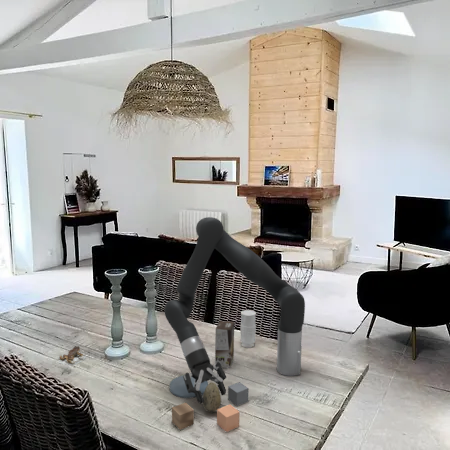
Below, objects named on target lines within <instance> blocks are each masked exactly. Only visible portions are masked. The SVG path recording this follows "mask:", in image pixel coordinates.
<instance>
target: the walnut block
mask: <svg viewBox="0 0 450 450" xmlns="http://www.w3.org/2000/svg"><path fill="white" fill-rule="evenodd" d="M194 411H195V410H194V408H192V407H191V406H190V405H189V404H188V403H187V402H183V403H181V404H178V405H175V406H172V407H171V423H172V424H173V425H174V424H175V425H176V426H177V427H178V428H179V429H180V430H179V429H178V428H177V427H176V426H175V425H174V426H175V427H176V428H177V429H178V430H179V431H181V429H182V430H184V429H186V428H188V426H189V427H191V426H193V424H194V425H195V412H194Z"/></svg>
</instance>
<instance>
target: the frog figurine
mask: <svg viewBox="0 0 450 450" xmlns="http://www.w3.org/2000/svg"><path fill="white" fill-rule="evenodd" d="M80 350H81V347H80V346H77V345H75V346H74V347H73V348H72V349H70V350H68V354H63V355H59V358H60V359H58V360H57V362H58V364H60V365H67V366H68V365H69V366H74V365H77V364H79V363H81V362H82V361H84V360H86V355H85V356H84V354H83V353H81V352H79V351H80ZM81 357H82V358H83V360H80V359H79V358H81Z"/></svg>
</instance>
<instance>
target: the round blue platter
mask: <svg viewBox="0 0 450 450" xmlns="http://www.w3.org/2000/svg"><path fill="white" fill-rule="evenodd" d="M184 375H185V374H184ZM184 375H180V376H177V377H174V378H172V380H171V381H170V382H169V392H170V393H171V394H172V395H173V396H175V397H178V398H181V399H192V398H196V396H195V394H194V393H188V391H187V388H186V385H185V382H184V378H183V376H184ZM191 381H192V384H193V387H194V383H195V379H194V378H193V377H192V376H191ZM208 384H209V381H204V382H203V383H201V384H200V388H199V391H201V393H202V396H203V395H204V391H205V389H206V387H207V385H208Z"/></svg>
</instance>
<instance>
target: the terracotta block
mask: <svg viewBox="0 0 450 450" xmlns="http://www.w3.org/2000/svg"><path fill="white" fill-rule="evenodd" d="M240 413H241V412H240V411H239V410H238V409H237V408H235V407H234V406H232V404H231V403H230V404H227V405H225V406H223V407H219V409H217V411H216V425H217V426H219V427H220V428H221V429H222V430H223V431H224V432H225V431H226V432H225V433H228V432H230V431H232V430H234V429H236V428H239V427H240V415H241V414H240Z"/></svg>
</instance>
